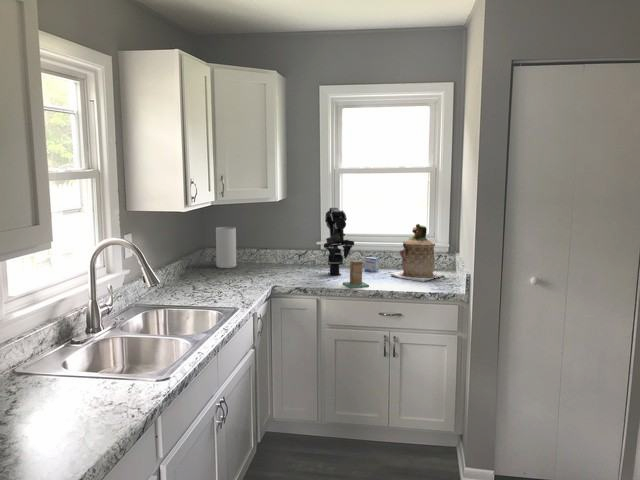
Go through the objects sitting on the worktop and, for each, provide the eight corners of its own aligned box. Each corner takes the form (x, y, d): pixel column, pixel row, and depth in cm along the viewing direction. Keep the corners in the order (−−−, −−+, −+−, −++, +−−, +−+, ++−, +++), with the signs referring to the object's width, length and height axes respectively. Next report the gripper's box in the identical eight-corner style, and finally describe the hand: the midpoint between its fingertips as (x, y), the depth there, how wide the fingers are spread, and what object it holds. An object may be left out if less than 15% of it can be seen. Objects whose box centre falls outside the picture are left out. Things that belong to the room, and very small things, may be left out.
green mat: (342, 283, 304) (342, 282, 304) (360, 282, 308) (360, 280, 308) (350, 288, 294) (350, 286, 294) (369, 286, 298) (369, 285, 297)
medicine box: (364, 271, 340) (364, 257, 339) (366, 270, 344) (367, 256, 343) (376, 272, 336) (376, 258, 335) (378, 271, 340) (379, 257, 339)
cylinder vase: (213, 268, 346) (212, 228, 343) (220, 264, 359) (219, 226, 355) (232, 268, 344) (232, 229, 341) (238, 265, 357) (238, 227, 353)
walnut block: (349, 282, 302) (350, 260, 300) (358, 282, 304) (358, 260, 302) (353, 284, 297) (353, 262, 296) (361, 284, 299) (362, 261, 297)
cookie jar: (446, 276, 326) (448, 223, 322) (423, 283, 309) (425, 226, 304) (411, 270, 343) (413, 220, 339) (388, 276, 325) (389, 223, 321)
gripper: (316, 232, 313) (317, 260, 310) (341, 228, 300) (341, 256, 298) (330, 234, 321) (330, 261, 318) (354, 230, 308) (355, 258, 306)
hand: (339, 259), depth 310 cm, fingers open, 9 cm apart
